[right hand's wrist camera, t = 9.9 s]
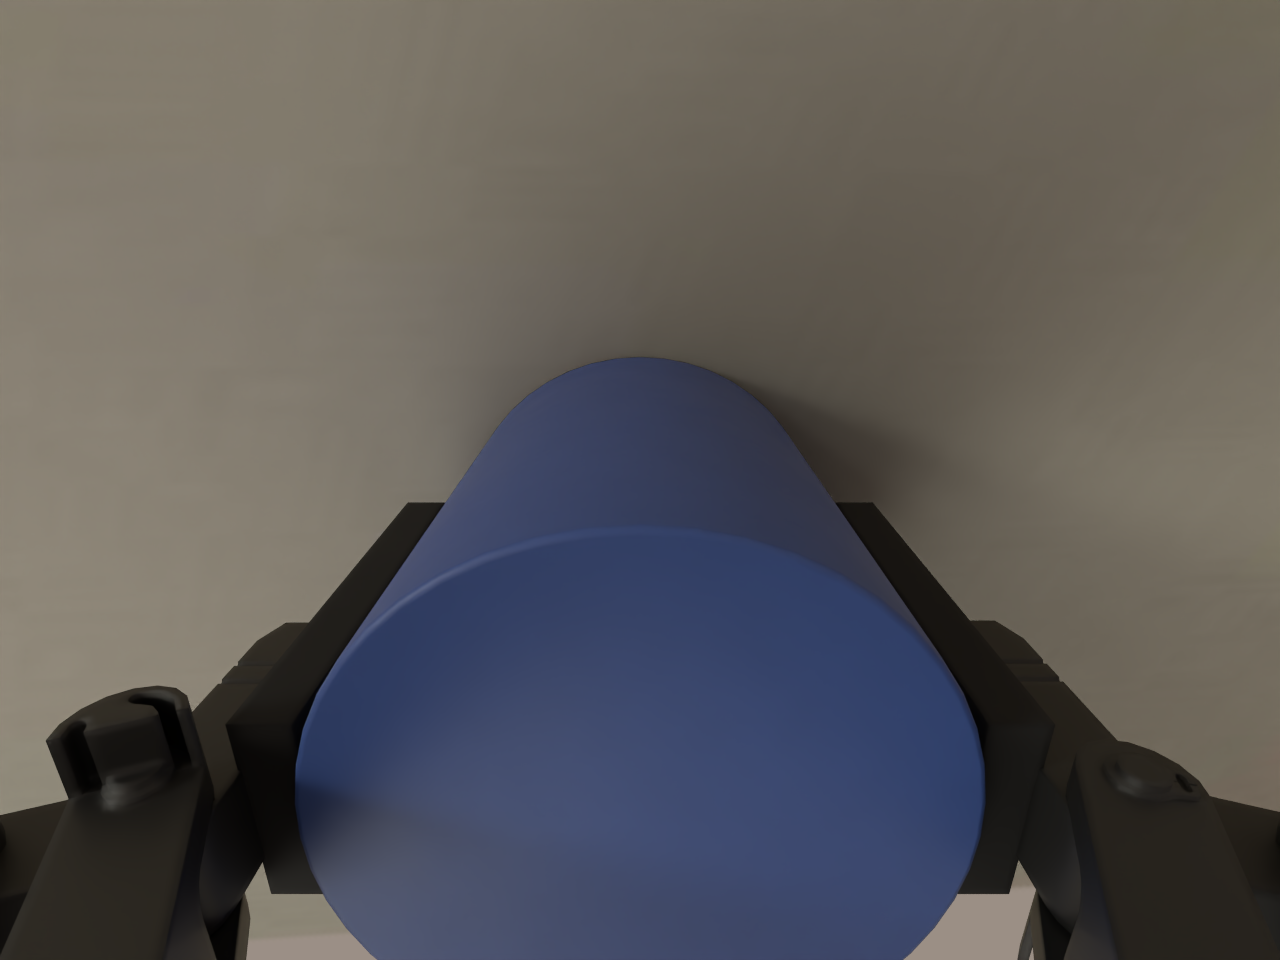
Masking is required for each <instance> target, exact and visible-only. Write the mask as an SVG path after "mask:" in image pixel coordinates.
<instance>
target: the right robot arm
mask: <svg viewBox="0 0 1280 960" xmlns="http://www.w3.org/2000/svg"><path fill="white" fill-rule="evenodd" d="M444 504H445V503H407V504H406V505H405V507H404V508H403V509H402V510H401V512H400V513H399V514H398V515H397V516H396V518H395V519H394V520H393V521H392V522H391V524H390V525H389V526H388V527H387V529H386V530H385V531H384V532H383V533H382V535H381V536H380V537H379V538H378V539H377V541H376V542H375V543H374V544H373V546H372V547H371V548H370V549H369V550H368V552H367V553H366V554H365V555H364V557H363V558H362V559H361V560H360V561H359V563H358V564H357V565H356V566H355V567H354V569H353V570H352V571H351V572H350V574H349V575H348V576H347V577H346V578H345V580H344V581H343V582H342V583H341V584H340V586H339V587H338V588H337V589H336V591H335V592H334V593H333V594H332V595H331V597H330V598H329V599H328V600H327V601H326V603H325V604H324V605H323V606H322V608H321V609H320V610H319V611H318V612H317V614H316V615H315V616H314V617H313V618H312V620H311V621H310V622H309V623H285V624H283V625H282V626H280V627H279V628H277V629H275V630H274V631H272V632H271V633H269V634H267V635H266V636H264V637H263V638H261V639H259V640H258V641H257V642H256V643H255V644H254V645H253V646H252V647H251V648H250V649H249V650H248V652H247V653H246V654H245V655H244V656H243V657H242V658H241V659H240V660H239V661H238V666H234V667H233V668H232V669H231V670H230V671H229V672H228V673H227V675H226V676H225V677H224V678H223V679H222V684H217V686H216V687H215V688H214V689H213V690H212V691H211V692H210V693H209V694H208V695H207V697H206V698H205V699H204V700H203V701H202V702H201V703H200V704H199V705H198V706H197V708H196V709H195V710H194V711H193V712H192V711H191V708H190V704H189V701H188V697H187V695H185V694H184V693H182V692H181V691H180V690H178V689H177V688H172V687H164V686H151V687H143V688H135V689H131V690H127V691H124V692H121V693H117V694H114V695H111V696H108V697H105V698H103V699H101V700H99V701H97V702H95V703H93V704H91V705H88V706H86V707H84V708H82V709H80V710H79V711H78V712H76V713H75V714H73V715H72V716H71V717H69V718H68V719H66V720H65V721H63V722H62V723H61V724H59V725H58V727H57V728H56V729H55V730H54V731H53V733H52V734H51V735H50V736H49V737H48V739H47V740H46V743H47V745H48V748H49V750H50V753H51V755H52V758H53V760H54V763H55V765H56V768H57V770H58V773H59V776H60V778H61V781H62V783H63V786H64V788H65V791H66V793H67V796H68V798H69V800H65V801H61V802H57V803H52V804H48V805H43V806H39V807H35V808H30V809H26V810H21V811H17V812H13V813H8V814H4V815H0V960H246V955H247V945H248V936H249V926H250V914H249V908H248V902H247V899H246V896H245V891H246V889H247V888H248V886H249V884H250V882H251V881H252V879H253V877H254V876H255V874H256V872H257V871H258V869H259V867H260V865H261V864H262V862H263V865H264V869H265V872H266V876H267V880H268V883H269V887H270V891H271V894H323V893H322V891H321V889H320V887H319V885H318V883H317V881H316V879H315V877H314V875H313V873H312V871H311V869H310V866H309V863H308V860H307V857H306V854H305V851H304V848H303V845H302V842H301V839H300V833H299V827H298V820H297V814H296V807H295V776H296V762H297V757H298V751H299V746H300V741H301V736H302V731H303V728H304V725H305V722H306V720H307V717H308V715H309V712H310V710H311V707H312V704H313V702H314V699H315V697H316V694H317V692H318V691H319V689H320V687H321V686H322V684H323V682H324V681H325V679H326V677H327V676H328V674H329V672H330V671H331V669H332V668H333V666H334V664H335V663H336V661H337V659H338V658H339V656H340V655H341V653H342V652H343V651H344V649H345V648H346V646H347V645H348V643H349V642H350V640H351V639H352V638H353V636H354V635H355V633H356V632H357V630H358V629H359V627H360V626H361V624H362V623H363V622H364V620H365V619H366V617H367V616H368V614H369V613H370V611H371V610H372V609H373V607H374V606H375V604H376V603H377V601H378V600H379V598H380V597H381V595H382V594H383V593H384V591H385V590H386V588H387V587H388V585H389V584H390V582H391V581H392V580H393V578H394V577H395V575H396V574H397V572H398V571H399V569H400V568H401V567H402V565H403V564H404V562H405V561H406V559H407V558H408V556H409V555H410V553H411V552H412V551H413V549H414V548H415V546H416V545H417V543H418V542H419V540H420V539H421V538H422V536H423V535H424V533H425V532H426V530H427V529H428V527H429V526H430V524H431V523H432V522H433V520H434V519H435V517H436V516H437V514H438V513H439V511H440V510H441V509H442V507H443V506H444ZM836 505H837V507H838V508H839V509H840V511H841V512H842V514H843V515H844V517H845V518H846V520H847V521H848V523H849V524H850V525H851V527H852V528H853V530H854V531H855V533H856V534H857V536H858V537H859V538H860V540H861V541H862V543H863V544H864V546H865V547H866V549H867V550H868V551H869V553H870V554H871V556H872V557H873V559H874V560H875V562H876V563H877V564H878V566H879V567H880V569H881V570H882V572H883V573H884V575H885V576H886V578H887V579H888V580H889V582H890V583H891V585H892V586H893V588H894V589H895V591H896V592H897V593H898V595H899V596H900V598H901V599H902V601H903V602H904V604H905V605H906V606H907V608H908V609H909V611H910V612H911V614H912V615H913V617H914V618H915V620H916V621H917V622H918V624H919V625H920V627H921V628H922V630H923V631H924V633H925V634H926V635H927V637H928V638H929V640H930V641H931V643H932V644H933V646H934V647H935V648H936V650H937V651H938V653H939V654H940V656H941V657H942V659H943V660H944V662H945V663H946V665H947V667H948V668H949V670H950V672H951V673H952V675H953V677H954V678H955V680H956V682H957V683H958V685H959V687H960V688H961V690H962V691H963V693H964V696H965V698H966V701H967V703H968V706H969V708H970V711H971V713H972V716H973V719H974V721H975V724H976V726H977V729H978V734H979V739H980V744H981V749H982V754H983V759H984V764H985V801H986V804H985V810H984V817H983V823H982V830H981V837H980V840H979V843H978V846H977V849H976V852H975V855H974V858H973V861H972V864H971V867H970V870H969V872H968V874H967V876H966V878H965V880H964V882H963V884H962V886H961V888H960V890H959V892H958V894H1009V892H1010V889H1011V885H1012V881H1013V878H1014V874H1015V870H1016V867H1017V863H1018V860H1019V861H1020V863H1021V865H1022V866H1023V868H1024V870H1025V871H1026V873H1027V875H1028V877H1029V878H1030V880H1031V882H1032V883H1033V885H1034V887H1035V888H1036V892H1035V896H1034V899H1033V902H1032V906H1031V909H1030V913H1029V916H1028V919H1027V923H1026V926H1025V930H1024V933H1023V937H1022V940H1021V943H1020V948H1019V954H1018V960H1029V957H1030V953H1031V950H1032V948H1033V953H1034V960H1280V812H1277V811H1272V810H1268V809H1263V808H1259V807H1254V806H1250V805H1246V804H1241V803H1237V802H1232V801H1228V800H1223V799H1219V798H1215V797H1212V796H1209V794H1208V793H1207V791H1206V790H1205V789H1204V787H1203V786H1202V784H1201V783H1200V782H1199V781H1198V780H1197V779H1196V778H1195V777H1194V776H1192V775H1191V774H1190V773H1189V772H1187V771H1186V770H1185V769H1184V768H1182V767H1181V766H1180V765H1179V764H1177V763H1175V762H1173V761H1171V760H1170V759H1168V758H1166V757H1164V756H1162V755H1160V754H1158V753H1157V752H1155V751H1152V750H1149V749H1146V748H1143V747H1140V746H1138V745H1135V744H1132V743H1129V742H1121V741H1117V740H1116V739H1115V738H1114V737H1113V735H1112V734H1111V733H1110V732H1109V731H1108V730H1107V729H1106V728H1105V727H1104V726H1103V725H1102V723H1101V722H1100V721H1099V720H1098V719H1097V718H1096V717H1095V716H1094V715H1093V714H1092V713H1091V711H1090V710H1089V709H1088V708H1087V707H1086V706H1085V705H1084V704H1083V703H1082V702H1081V701H1080V699H1079V698H1078V697H1077V696H1076V695H1075V694H1074V693H1073V692H1072V691H1071V690H1070V689H1069V687H1068V686H1067V685H1066V684H1065V683H1064V682H1060V681H1059V677H1058V675H1057V674H1056V673H1055V672H1054V671H1053V670H1052V669H1051V668H1050V667H1049V666H1048V665H1047V664H1044V663H1043V659H1042V658H1041V657H1040V656H1039V655H1038V654H1037V653H1036V651H1035V650H1034V649H1033V648H1032V647H1031V646H1030V645H1029V644H1028V643H1027V642H1026V641H1025V639H1024V638H1022V637H1020V636H1019V635H1017V634H1015V633H1014V632H1012V631H1011V630H1009V629H1007V628H1006V627H1004V626H1003V625H1001V624H999V623H998V622H996V621H970V620H969V619H968V618H967V617H966V615H965V614H964V613H963V612H962V611H961V609H960V608H959V607H958V606H957V605H956V603H955V602H954V601H953V600H952V598H951V597H950V596H949V595H948V594H947V592H946V591H945V590H944V589H943V588H942V586H941V585H940V584H939V583H938V581H937V580H936V579H935V578H934V577H933V575H932V574H931V573H930V572H929V571H928V569H927V568H926V567H925V566H924V564H923V563H922V562H921V561H920V560H919V558H918V557H917V556H916V555H915V554H914V552H913V551H912V550H911V549H910V547H909V546H908V545H907V544H906V543H905V541H904V540H903V539H902V538H901V537H900V535H899V534H898V533H897V532H896V530H895V529H894V528H893V527H892V526H891V524H890V523H889V522H888V521H887V520H886V518H885V517H884V516H883V515H882V513H881V512H880V511H879V510H878V509H877V507H876V506H875V505H874V504H873V503H836Z"/></svg>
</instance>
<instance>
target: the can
mask: <svg viewBox="0 0 1280 960" xmlns="http://www.w3.org/2000/svg"><path fill="white" fill-rule="evenodd" d="M985 804H986V801H985V764H984V759H983V754H982V749H981V744H980V739H979V734H978V729H977V726H976V724H975V721H974V719H973V716H972V713H971V711H970V708H969V706H968V703H967V701H966V698H965V696H964V693H963V691H962V690H961V688H960V687H959V685H958V683H957V682H956V680H955V678H954V677H953V675H952V673H951V672H950V670H949V668H948V667H947V665H946V663H945V662H944V660H943V659H942V657H941V656H940V654H939V653H938V651H937V650H936V648H935V647H934V646H933V644H932V643H931V641H930V640H929V638H928V637H927V635H926V634H925V633H924V631H923V630H922V628H921V627H920V625H919V624H918V622H917V621H916V620H915V618H914V617H913V615H912V614H911V612H910V611H909V609H908V608H907V606H906V605H905V604H904V602H903V601H902V599H901V598H900V596H899V595H898V593H897V592H896V591H895V589H894V588H893V586H892V585H891V583H890V582H889V580H888V579H887V578H886V576H885V575H884V573H883V572H882V570H881V569H880V567H879V566H878V564H877V563H876V562H875V560H874V559H873V557H872V556H871V554H870V553H869V551H868V550H867V549H866V547H865V546H864V544H863V543H862V541H861V540H860V538H859V537H858V536H857V534H856V533H855V531H854V530H853V528H852V527H851V525H850V524H849V523H848V521H847V520H846V518H845V517H844V515H843V514H842V512H841V511H840V509H839V508H838V507H837V505H836V504H835V502H834V501H833V499H832V498H831V496H830V495H829V494H828V492H827V491H826V489H825V488H824V486H823V485H822V483H821V482H820V481H819V479H818V478H817V476H816V475H815V473H814V472H813V470H812V469H811V467H810V466H809V465H808V463H807V462H806V460H805V459H804V457H803V456H802V454H801V453H800V452H799V450H798V449H797V447H796V446H795V444H794V443H793V441H792V440H791V439H790V437H789V436H788V434H787V433H786V431H785V430H784V428H783V427H782V426H781V425H780V423H779V422H778V421H777V420H776V419H775V417H774V416H773V415H772V414H771V413H770V411H769V410H768V409H767V408H766V407H764V406H763V405H762V404H761V403H760V402H759V401H758V400H757V399H756V398H754V397H753V396H752V395H751V394H750V393H748V392H747V391H745V390H744V389H742V388H741V387H739V386H738V385H736V384H735V383H733V382H732V381H730V380H728V379H726V378H724V377H722V376H720V375H718V374H716V373H714V372H712V371H709V370H706V369H703V368H700V367H697V366H694V365H691V364H688V363H684V362H678V361H673V360H668V359H661V358H646V357H634V358H619V359H612V360H607V361H602V362H597V363H592V364H589V365H586V366H583V367H580V368H577V369H574V370H571V371H569V372H567V373H565V374H563V375H561V376H559V377H557V378H555V379H553V380H551V381H549V382H547V383H545V384H544V385H543V386H541V387H540V388H538V389H537V390H535V391H534V392H532V393H531V394H529V395H528V396H527V397H526V398H525V399H524V400H523V401H521V402H520V403H519V404H518V405H517V406H516V407H515V408H514V409H513V410H512V411H511V412H510V413H509V414H508V415H507V417H506V418H505V419H504V420H503V421H502V423H501V424H500V425H499V426H498V427H497V429H496V430H495V432H494V433H493V435H492V436H491V438H490V439H489V440H488V442H487V443H486V445H485V446H484V448H483V449H482V451H481V452H480V453H479V455H478V456H477V458H476V459H475V461H474V462H473V464H472V465H471V466H470V468H469V469H468V471H467V472H466V474H465V475H464V477H463V478H462V480H461V481H460V482H459V484H458V485H457V487H456V488H455V490H454V491H453V493H452V494H451V495H450V497H449V498H448V500H447V501H446V503H445V504H444V506H443V507H442V509H441V510H440V511H439V513H438V514H437V516H436V517H435V519H434V520H433V522H432V523H431V524H430V526H429V527H428V529H427V530H426V532H425V533H424V535H423V536H422V538H421V539H420V540H419V542H418V543H417V545H416V546H415V548H414V549H413V551H412V552H411V553H410V555H409V556H408V558H407V559H406V561H405V562H404V564H403V565H402V567H401V568H400V569H399V571H398V572H397V574H396V575H395V577H394V578H393V580H392V581H391V582H390V584H389V585H388V587H387V588H386V590H385V591H384V593H383V594H382V595H381V597H380V598H379V600H378V601H377V603H376V604H375V606H374V607H373V609H372V610H371V611H370V613H369V614H368V616H367V617H366V619H365V620H364V622H363V623H362V624H361V626H360V627H359V629H358V630H357V632H356V633H355V635H354V636H353V638H352V639H351V640H350V642H349V643H348V645H347V646H346V648H345V649H344V651H343V652H342V653H341V655H340V656H339V658H338V659H337V661H336V663H335V664H334V666H333V668H332V669H331V671H330V672H329V674H328V676H327V677H326V679H325V681H324V682H323V684H322V686H321V687H320V689H319V691H318V692H317V694H316V697H315V699H314V702H313V704H312V707H311V710H310V712H309V715H308V717H307V720H306V722H305V725H304V728H303V731H302V736H301V741H300V746H299V751H298V757H297V762H296V776H295V807H296V814H297V820H298V827H299V833H300V839H301V842H302V845H303V848H304V851H305V854H306V857H307V860H308V863H309V866H310V869H311V871H312V873H313V875H314V877H315V879H316V881H317V883H318V885H319V887H320V889H321V891H322V893H323V894H324V896H325V898H326V900H327V902H328V903H329V905H330V906H331V907H332V909H333V910H334V912H335V913H336V914H337V916H338V917H339V919H340V920H341V921H342V923H343V924H344V926H345V927H346V928H347V929H348V931H349V932H350V933H351V934H352V935H353V936H354V937H355V938H356V939H357V940H358V941H359V942H360V943H361V944H362V945H363V947H364V948H365V949H366V950H367V951H368V952H369V953H370V954H371V955H372V956H374V957H375V958H376V959H377V960H903V959H905V958H906V957H907V956H908V955H909V954H911V952H912V951H913V950H914V949H915V948H916V947H917V946H918V945H919V944H920V943H921V942H922V941H923V940H924V939H925V937H926V936H927V935H928V934H929V933H930V932H931V931H932V930H933V929H934V928H935V926H936V925H937V923H938V922H939V921H940V919H941V918H942V916H943V915H944V913H945V912H946V911H947V909H948V908H949V907H950V905H951V904H952V902H953V901H954V899H955V897H956V895H957V894H958V892H959V890H960V888H961V886H962V884H963V882H964V880H965V878H966V876H967V874H968V872H969V870H970V867H971V864H972V861H973V858H974V855H975V852H976V849H977V846H978V843H979V840H980V837H981V830H982V823H983V817H984V810H985Z"/></svg>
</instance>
